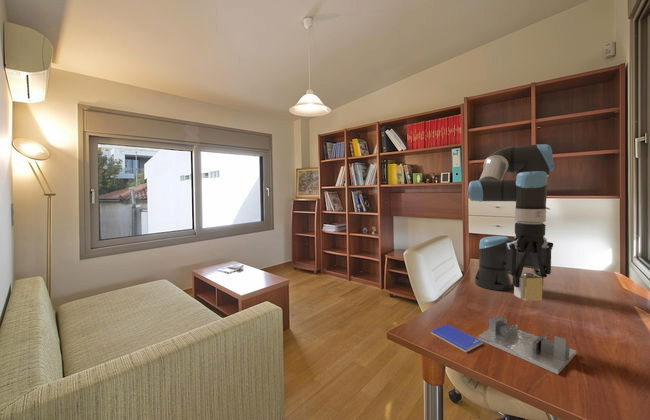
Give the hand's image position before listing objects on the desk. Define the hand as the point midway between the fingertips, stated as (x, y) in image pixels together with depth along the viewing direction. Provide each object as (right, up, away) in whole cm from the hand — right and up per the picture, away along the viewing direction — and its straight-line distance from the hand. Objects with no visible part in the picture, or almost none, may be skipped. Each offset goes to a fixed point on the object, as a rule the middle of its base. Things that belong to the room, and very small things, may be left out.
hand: (527, 296), depth 85 cm
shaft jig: (-3, -14, -3) cm, 15 cm away
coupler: (0, 0, 0) cm, 0 cm away
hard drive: (-21, -15, +2) cm, 26 cm away
